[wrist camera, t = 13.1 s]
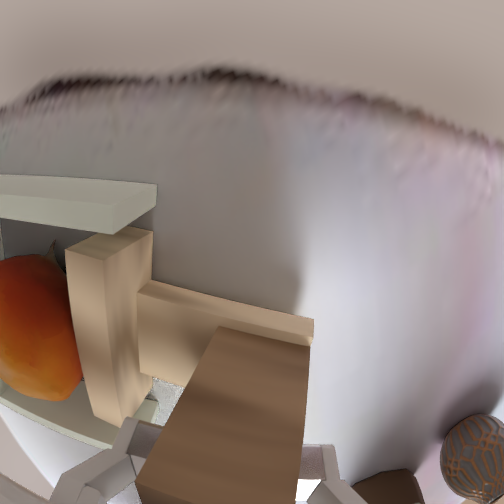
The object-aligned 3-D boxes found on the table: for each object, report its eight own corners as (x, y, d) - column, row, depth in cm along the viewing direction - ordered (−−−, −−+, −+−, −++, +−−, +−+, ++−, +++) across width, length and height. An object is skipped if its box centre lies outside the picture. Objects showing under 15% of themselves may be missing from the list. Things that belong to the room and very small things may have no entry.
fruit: (145, 291, 14) (48, 433, 8) (117, 327, 19) (55, 418, 14) (29, 185, 12) (-79, 298, 7) (34, 252, 18) (-34, 334, 13)
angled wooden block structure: (279, 421, 16) (248, 565, 8) (125, 375, 18) (44, 481, 9) (328, 269, 13) (336, 472, 4) (118, 223, 14) (-45, 310, 5)
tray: (159, 410, 19) (141, 461, 14) (24, 366, 19) (-5, 400, 14) (157, 184, 14) (113, 205, 9) (-11, 174, 13) (-63, 189, 9)
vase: (431, 427, 19) (465, 510, 11) (498, 390, 18) (542, 460, 10) (430, 460, 21) (454, 528, 13) (488, 429, 20) (520, 490, 12)
